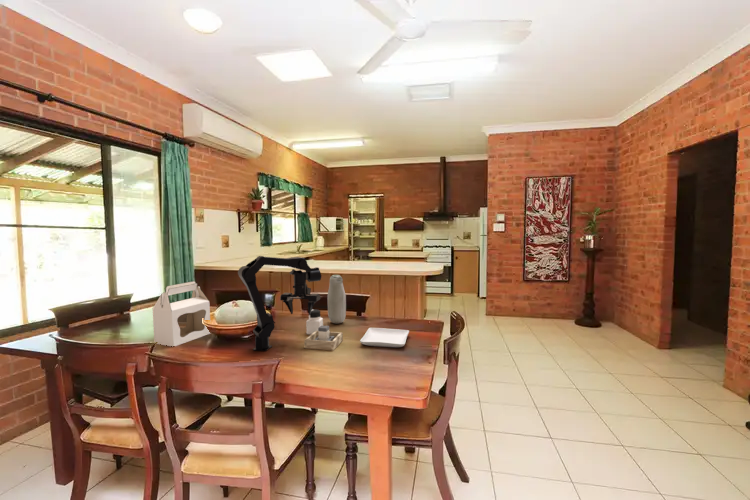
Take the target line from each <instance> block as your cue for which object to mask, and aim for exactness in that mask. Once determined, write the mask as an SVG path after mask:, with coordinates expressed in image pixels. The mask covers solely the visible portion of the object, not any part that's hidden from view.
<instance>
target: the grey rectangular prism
mask: <svg viewBox="0 0 750 500" xmlns="http://www.w3.org/2000/svg"><path fill="white" fill-rule="evenodd" d="M329 332H330V325H323V326H322V325H321V326H320V327H319V328H318V335H319V340H329Z"/></svg>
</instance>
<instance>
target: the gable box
mask: <svg viewBox="0 0 750 500" xmlns="http://www.w3.org/2000/svg"><path fill="white" fill-rule="evenodd" d="M164 289H165V290H164V292H162V293H160V296H159V297H158V299H157V301H156V302H155V304H154V306H153V307H152V322H153V325H152V327H153V340H154V341H153V343H154V342H158V343H157V344H156V345H160V344H161V346H166V345H167V346H166V347H171V346H172V347H173V346H175V347H178V346H180V345H182V344H185V343H188V342H191V341H193V340H194V341H195V340H196V339H200V338H202V337H205V336H207V335H210V334H211V333H210V332H209V330H208V329H207V327H206V326H205V325H203V324H202V318H204V320H210V321H211V310H210V309H211V308H210V307H211V305H210V300H209V299H208V297H207V296H206V295H205V293H204V292H203V290H201V287H200V286H198V283H196V281H193V280H192V281H188V282H181V283H177V284H171V285H167V286H166V287H165V288H164ZM186 292H187V293H188V292H192V294H191V297H190V298H185V299H182V300H177V301H173V302H171V301H170V298H169V296H172V295H176V294H177V295H178V294H182V293H186ZM182 315H186V316H185V323H186V325H185V326H184V327H180V326H179V323H178V319H179V317H181V316H182Z"/></svg>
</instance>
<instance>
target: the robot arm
mask: <svg viewBox="0 0 750 500" xmlns="http://www.w3.org/2000/svg"><path fill="white" fill-rule="evenodd" d="M264 266H274V267H275V266H279V267H289V268H293V269H291V271H290V272H289V275H292V276H293V286H292V289H293V291H294V292H293V293H292V292H284V293H282V294H280V298H279V299H280V301H282V302H283V303H284V304H285V306H286V307H287V309H288V310H289V314H291V315H293V314H294V307H293V304H294V303H293V302H294V300H308V302H307V311H308V316H309V315H310V314H311V311H312V310H313V307H314V305H315V304H316V303H317V302H318V301H320V300H321V295H320V293H311V291H312V288H310V287H308V284H307V282H308V283H312V282H319V281H321V280H322V272H321V271H320V267H310V266H309V263H308V261H307V258H305V257H300V256H294V257H274V256H273V257H272V256H271V257H270V256H263V255H258V256H257V257H256V258H255V259H253V260H252V261H250V262H248V263H247V264H246V265H244V266H243V265H242V266H241V267H240V268H239V269H238V270H237V275H238V277H239V278H240V280H241V281H242V283H243V284H244V286H245V287H246V289H247V292H248V296H249V297H250V300H251V303H252V305H253V308H254V311H255V313H256V322H257V325H256V326H255V327H254V328H253V330H252V331H253V334H254V335H255V337H254V339H255V340H254V341H255V347H254V348H252V351H258V352H267V351H268V350H269V349H270V348H272V347H273V345H272V344H271V345H270V337H271V334H272V332H273V330H275V324H276V322H275V321H274V317H273V314H272V313H269V312H267V310H266V308H265V304H264V303H263V300H262V297H261V294H260V292H259V289H258V286H257V276H256V275H257V273H259V271H260V270H261V269H263V267H264ZM295 269H297V270H295Z"/></svg>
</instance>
